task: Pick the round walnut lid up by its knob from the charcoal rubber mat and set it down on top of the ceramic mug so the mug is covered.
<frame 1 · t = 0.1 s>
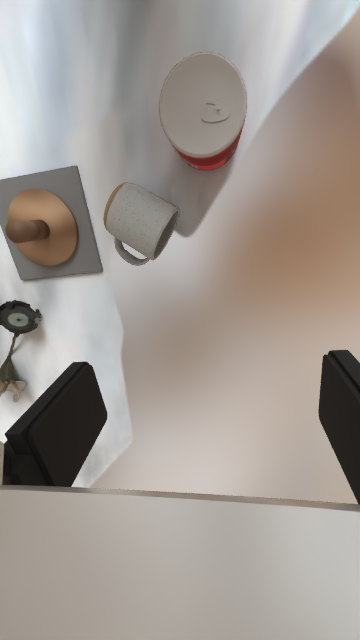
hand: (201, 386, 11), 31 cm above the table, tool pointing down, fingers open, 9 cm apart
mat: (47, 228, 41), on the table
ceramic mug: (147, 229, 39), on the table
artificial flower: (23, 351, 52), on the table
lid: (45, 228, 40), point 1 cm above the table, touching mat
canned food: (207, 137, 33), on the table
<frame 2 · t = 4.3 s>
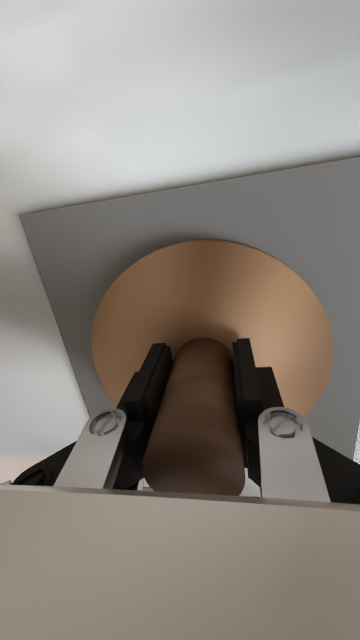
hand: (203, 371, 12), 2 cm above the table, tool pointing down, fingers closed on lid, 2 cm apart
mat: (205, 346, 13), on the table
lid: (205, 353, 13), point 1 cm above the table, touching gripper, mat
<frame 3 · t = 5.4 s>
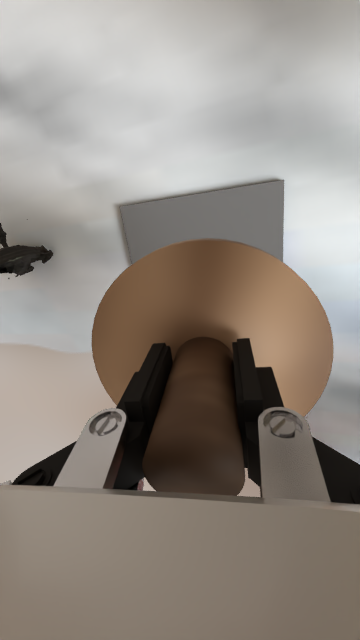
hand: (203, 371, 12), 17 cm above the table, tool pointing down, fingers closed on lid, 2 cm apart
mat: (205, 273, 27), on the table
lid: (205, 352, 13), point 16 cm above the table, touching gripper
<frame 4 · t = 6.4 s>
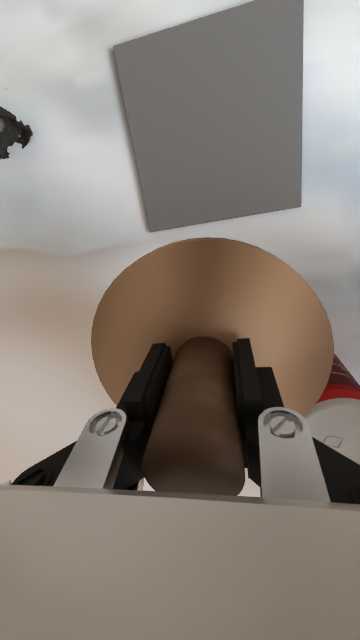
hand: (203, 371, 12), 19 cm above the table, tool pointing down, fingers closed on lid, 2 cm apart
mat: (212, 133, 24), on the table
lid: (205, 352, 13), point 17 cm above the table, touching gripper
canned food: (301, 366, 32), on the table
when the fingers open (11 cm above the table, at t = 8.8 s): lid drops 2 cm, resting on ceramic mug.
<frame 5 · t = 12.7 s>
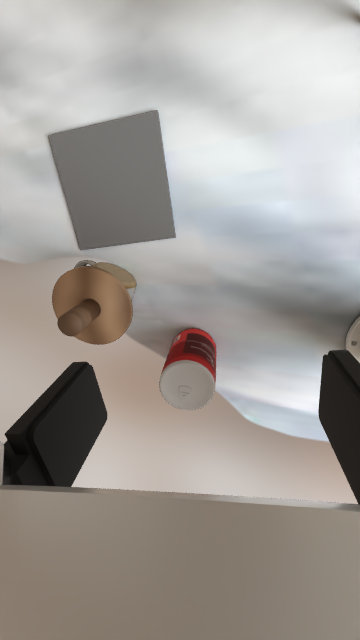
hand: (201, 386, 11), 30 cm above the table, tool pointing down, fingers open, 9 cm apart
mat: (115, 188, 36), on the table
ceramic mug: (108, 285, 43), on the table, touching lid
lid: (94, 305, 36), point 8 cm above the table, touching ceramic mug
canned food: (194, 347, 45), on the table
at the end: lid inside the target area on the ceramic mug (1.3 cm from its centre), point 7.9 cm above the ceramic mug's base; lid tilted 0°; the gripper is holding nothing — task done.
